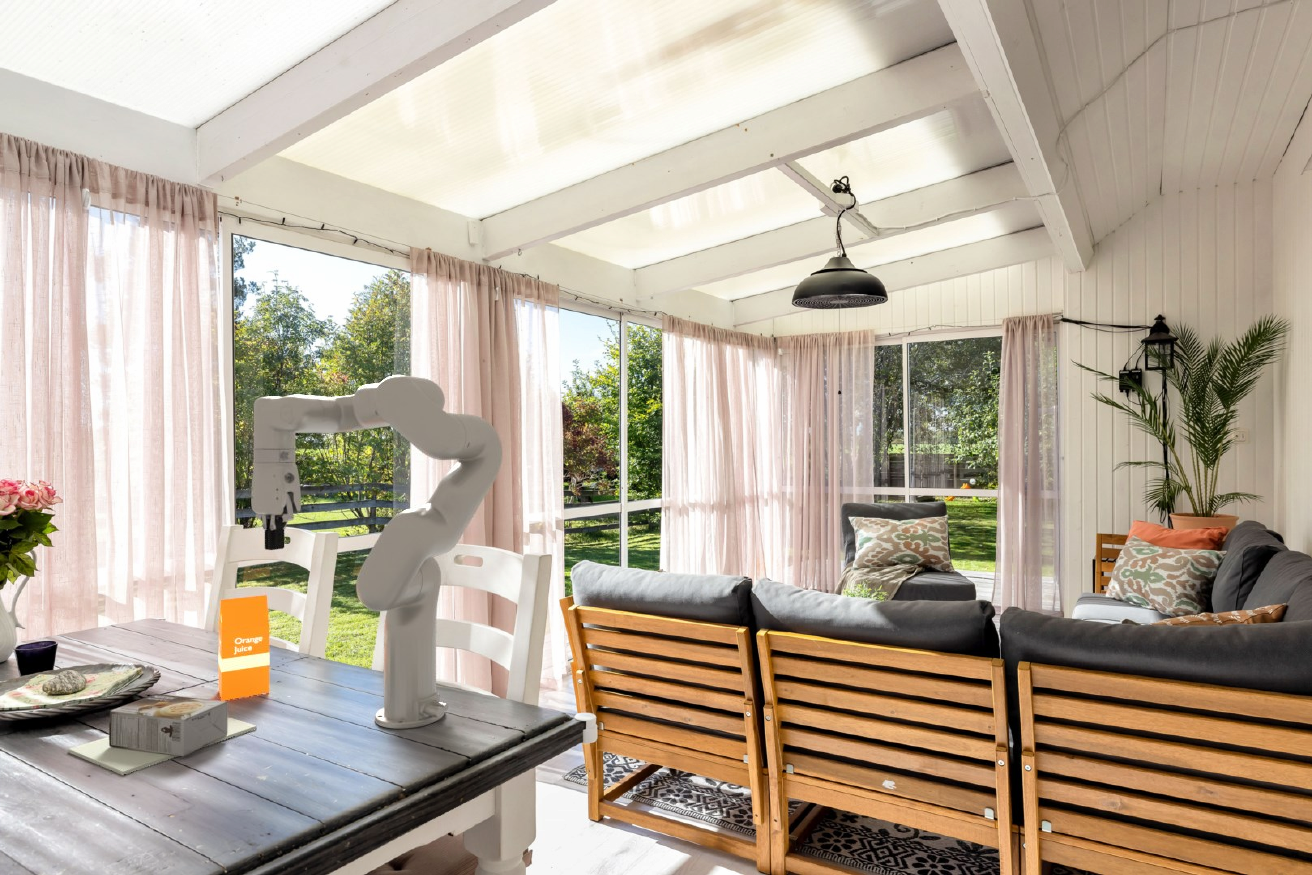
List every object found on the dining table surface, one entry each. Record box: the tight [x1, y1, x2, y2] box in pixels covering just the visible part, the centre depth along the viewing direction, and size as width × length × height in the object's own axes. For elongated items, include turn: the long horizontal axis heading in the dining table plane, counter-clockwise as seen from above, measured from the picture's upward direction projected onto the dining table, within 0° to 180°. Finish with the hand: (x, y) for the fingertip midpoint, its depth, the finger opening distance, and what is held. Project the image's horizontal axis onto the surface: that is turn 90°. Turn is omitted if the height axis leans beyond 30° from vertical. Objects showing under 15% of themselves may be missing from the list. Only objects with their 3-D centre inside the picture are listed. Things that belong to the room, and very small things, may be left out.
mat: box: [67, 716, 258, 776], centre depth 132 cm, size 18×22×1 cm
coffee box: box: [108, 693, 229, 757], centre depth 130 cm, size 9×6×16 cm
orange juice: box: [217, 594, 271, 701], centre depth 158 cm, size 8×9×20 cm
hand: (274, 548), depth 151 cm, fingers closed
